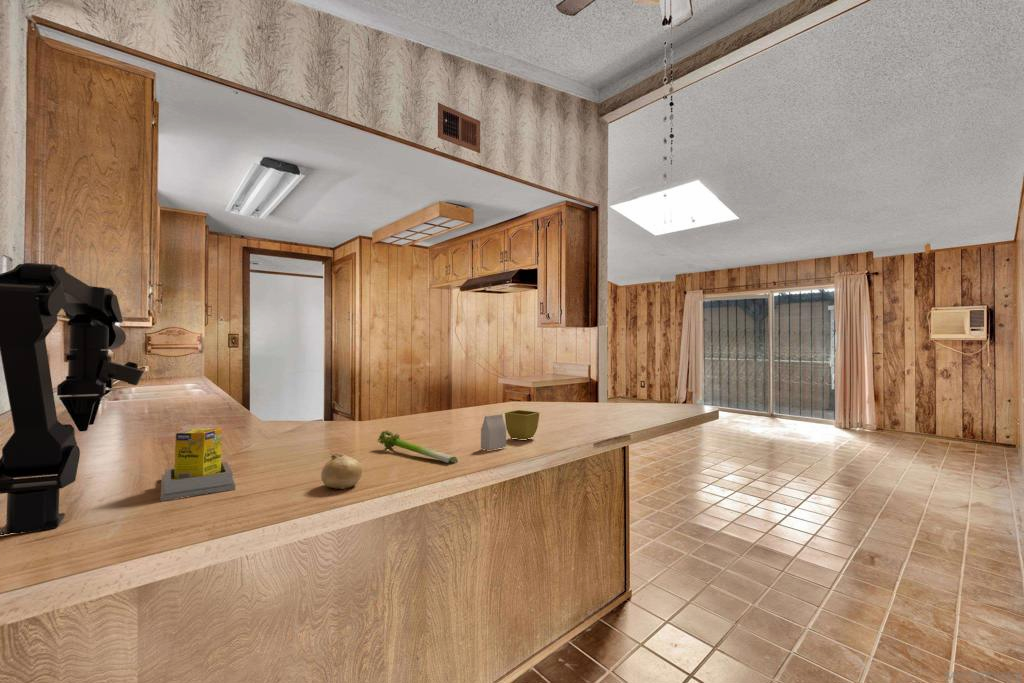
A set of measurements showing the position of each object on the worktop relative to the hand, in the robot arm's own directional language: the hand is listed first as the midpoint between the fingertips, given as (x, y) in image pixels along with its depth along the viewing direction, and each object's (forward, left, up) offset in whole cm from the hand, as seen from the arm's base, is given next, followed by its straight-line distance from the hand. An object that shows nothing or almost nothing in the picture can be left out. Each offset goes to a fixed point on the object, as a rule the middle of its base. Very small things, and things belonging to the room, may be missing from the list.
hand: (86, 427), depth 87 cm
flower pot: (-10, -105, -13) cm, 106 cm away
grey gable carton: (-16, -89, -13) cm, 91 cm away
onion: (-26, -42, -13) cm, 51 cm away
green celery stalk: (-9, -67, -14) cm, 69 cm away
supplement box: (-9, -18, -12) cm, 24 cm away
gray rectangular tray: (-6, -18, -13) cm, 23 cm away
